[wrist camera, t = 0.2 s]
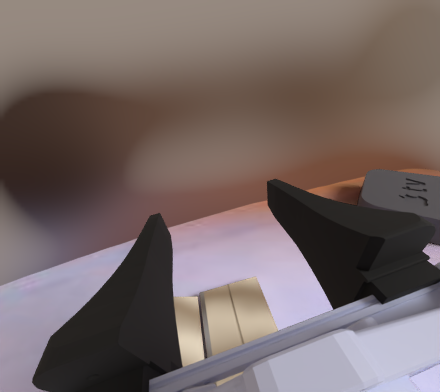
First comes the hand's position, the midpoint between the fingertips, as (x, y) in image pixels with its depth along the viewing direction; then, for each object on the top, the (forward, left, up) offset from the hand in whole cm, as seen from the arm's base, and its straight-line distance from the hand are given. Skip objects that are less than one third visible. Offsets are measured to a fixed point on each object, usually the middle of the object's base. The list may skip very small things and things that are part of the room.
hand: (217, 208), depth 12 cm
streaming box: (+11, -37, -22) cm, 44 cm away
